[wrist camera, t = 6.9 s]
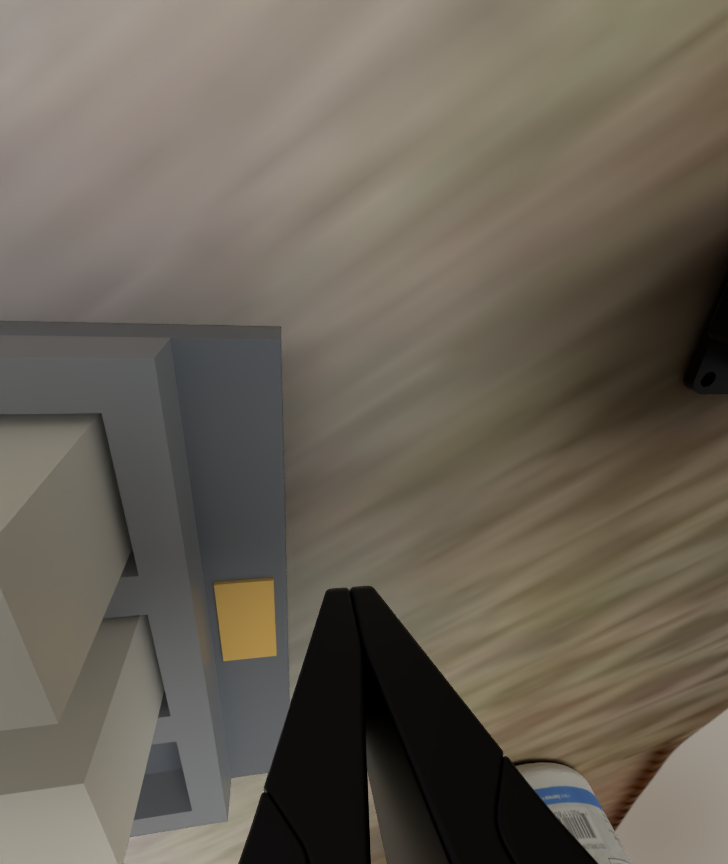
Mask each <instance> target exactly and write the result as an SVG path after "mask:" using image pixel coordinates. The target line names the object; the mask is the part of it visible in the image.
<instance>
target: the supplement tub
mask: <svg viewBox="0 0 728 864" xmlns="http://www.w3.org/2000/svg"><path fill="white" fill-rule="evenodd" d="M515 767H516V768H517V769H518V771H519V772H520V773H521V774H522V776H523V777H524V778H525V779H526V781H527V782H528V783H529V784H530V786H531V787H532V788H533V789H534V790H535V792H536V793H537V794H538V795H539V796H540V798H541V799H542V800H543V801H544V802H545V804H546V805H547V806H548V807H549V809H550V810H551V811H552V812H553V813H554V815H555V816H556V817H557V818H558V819H559V820H560V821H561V823H562V824H563V825H564V826H565V827H566V828H567V829H568V830H569V831H570V833H571V834H572V835H573V836H574V837H575V838H576V839H577V840H578V841H579V842H580V844H581V845H582V846H583V847H584V848H585V849H586V850H587V851H588V852H589V853H590V855H591V856H592V857H593V858H594V859H595V860H596V861H597V862H598V863H599V864H632V862H631V861H630V859H629V857H628V855H627V853H626V851H625V850H624V848H623V846H622V844H621V842H620V840H619V839H618V837H617V835H616V833H615V831H614V829H613V828H612V826H611V824H610V822H609V820H608V818H607V817H606V815H605V813H604V811H603V809H602V807H601V805H600V804H599V802H598V800H597V798H596V797H595V795H594V793H593V791H592V789H591V787H590V786H589V784H588V782H587V781H586V780H585V778H584V777H583V776H582V775H581V774H580V773H578V772H577V771H575V770H574V769H572V768H570V767H567V766H565V765H561V764H557V763H545V762H541V763H528V764H522V765H517V766H515Z"/></svg>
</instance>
